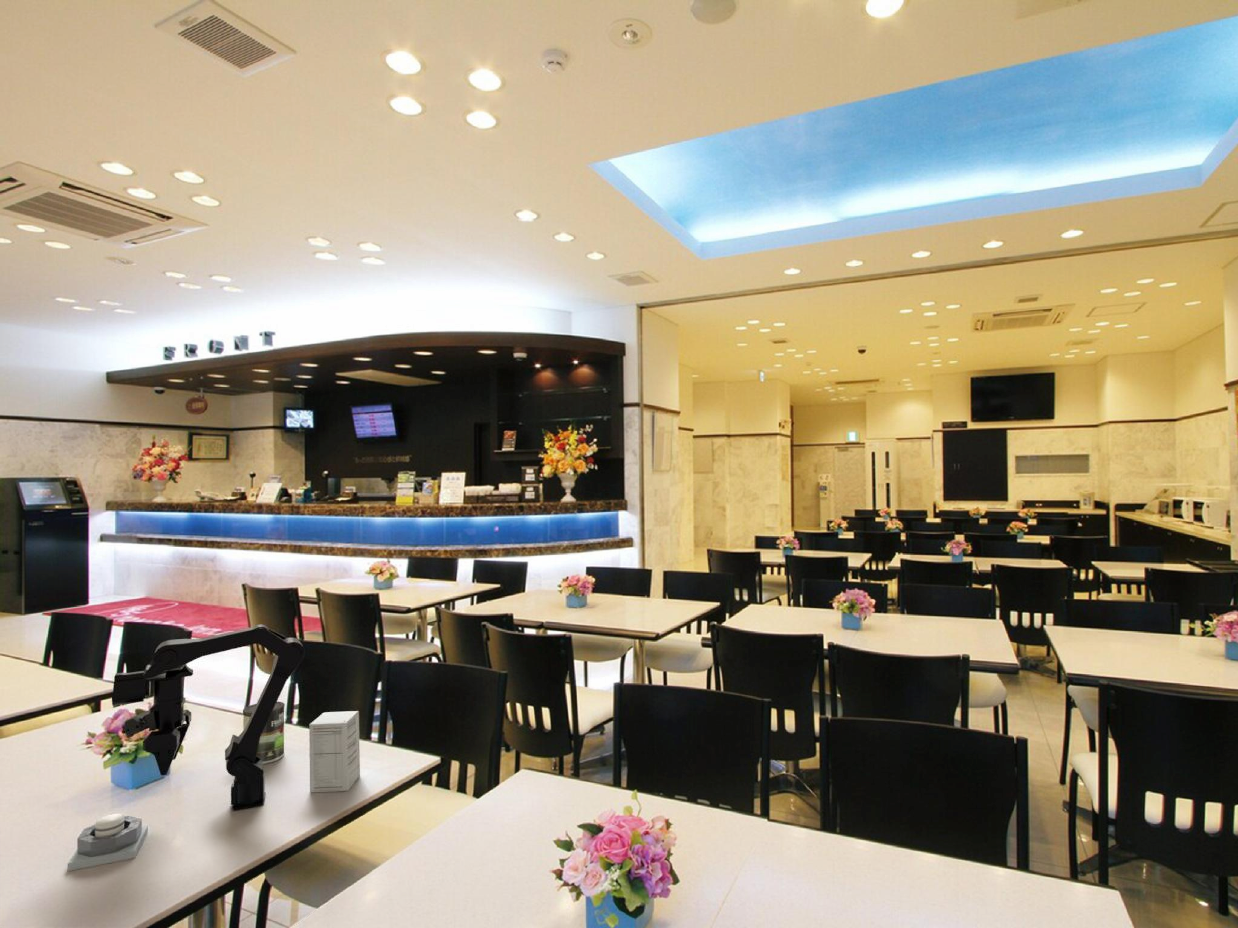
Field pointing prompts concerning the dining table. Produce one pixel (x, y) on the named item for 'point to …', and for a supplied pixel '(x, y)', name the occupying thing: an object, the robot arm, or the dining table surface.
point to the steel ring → (109, 839)
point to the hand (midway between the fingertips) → (168, 766)
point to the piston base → (107, 857)
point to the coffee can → (270, 733)
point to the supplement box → (334, 751)
